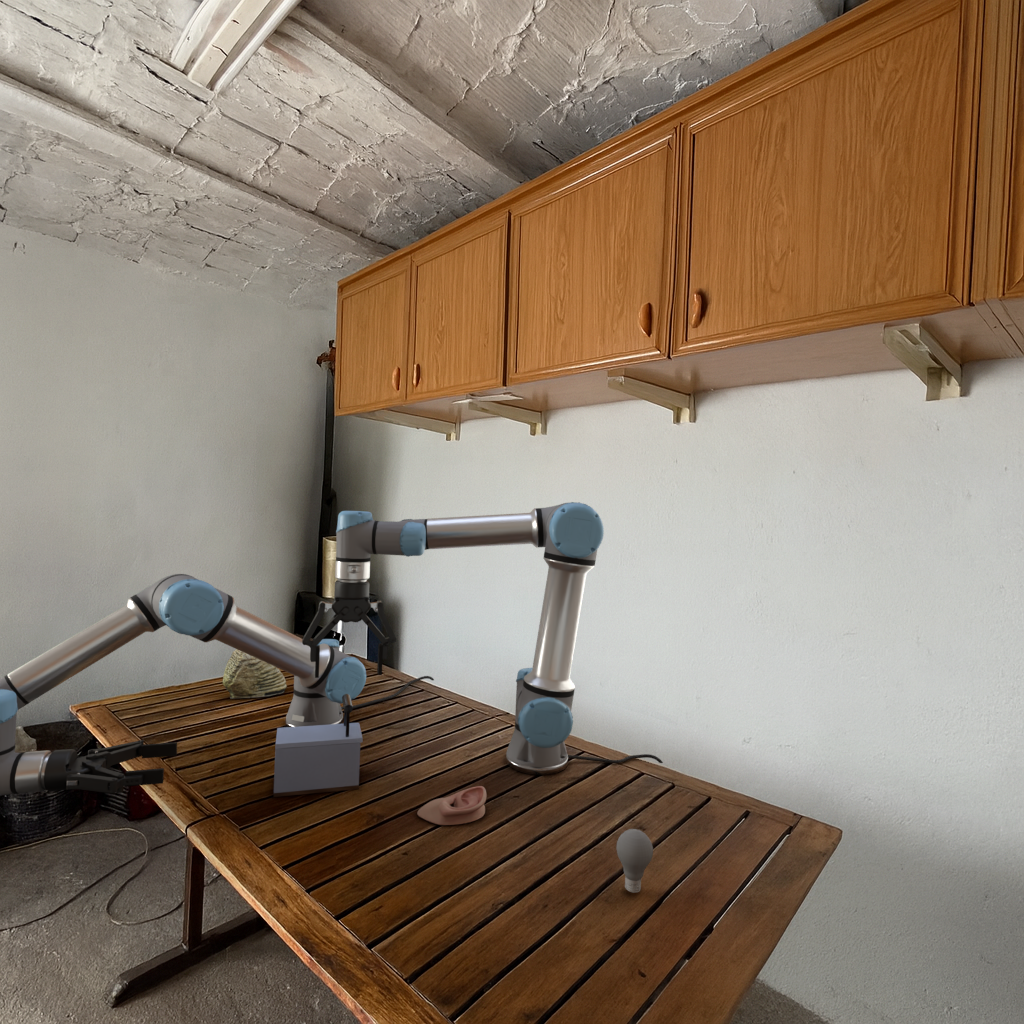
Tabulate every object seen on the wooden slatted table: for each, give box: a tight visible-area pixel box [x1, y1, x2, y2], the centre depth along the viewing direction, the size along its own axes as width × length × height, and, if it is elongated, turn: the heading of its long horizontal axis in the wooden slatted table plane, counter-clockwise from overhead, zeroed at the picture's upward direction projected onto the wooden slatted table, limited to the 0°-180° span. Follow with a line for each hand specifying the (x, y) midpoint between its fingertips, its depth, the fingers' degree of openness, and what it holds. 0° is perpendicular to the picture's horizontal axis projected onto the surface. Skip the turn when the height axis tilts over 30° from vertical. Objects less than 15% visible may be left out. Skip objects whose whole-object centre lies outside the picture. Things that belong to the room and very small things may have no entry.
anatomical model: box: [416, 785, 488, 826], centre depth 129 cm, size 13×4×12 cm
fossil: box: [222, 649, 288, 699], centre depth 198 cm, size 9×18×15 cm, turn 132°
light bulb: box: [615, 828, 654, 894], centre depth 106 cm, size 6×6×10 cm
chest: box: [272, 742, 361, 798], centre depth 140 cm, size 17×10×10 cm, turn 108°
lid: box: [274, 694, 363, 749], centre depth 140 cm, size 18×10×8 cm, turn 108°
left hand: (170, 761), depth 131 cm, fingers open, 13 cm apart
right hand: (348, 675), depth 141 cm, fingers open, 13 cm apart
